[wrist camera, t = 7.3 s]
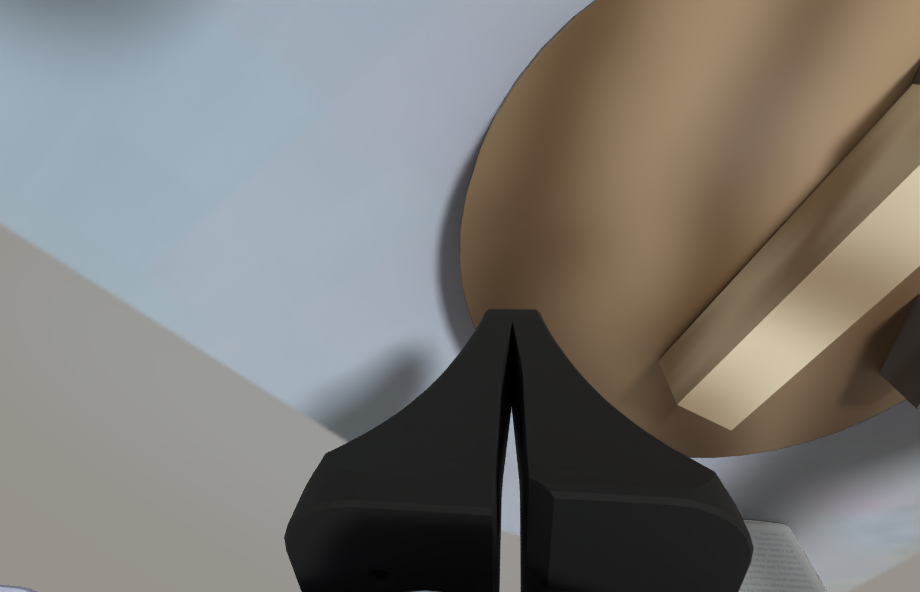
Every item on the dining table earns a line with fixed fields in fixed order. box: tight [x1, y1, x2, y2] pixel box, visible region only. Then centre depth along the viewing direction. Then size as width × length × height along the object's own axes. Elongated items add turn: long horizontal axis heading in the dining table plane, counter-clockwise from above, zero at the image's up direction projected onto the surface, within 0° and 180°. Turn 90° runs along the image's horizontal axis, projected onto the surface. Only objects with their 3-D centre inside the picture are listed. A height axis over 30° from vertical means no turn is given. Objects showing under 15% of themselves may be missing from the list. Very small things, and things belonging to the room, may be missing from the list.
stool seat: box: [460, 0, 920, 458], centre depth 17 cm, size 20×20×4 cm
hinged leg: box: [658, 67, 920, 430], centre depth 15 cm, size 14×3×3 cm, turn 154°
